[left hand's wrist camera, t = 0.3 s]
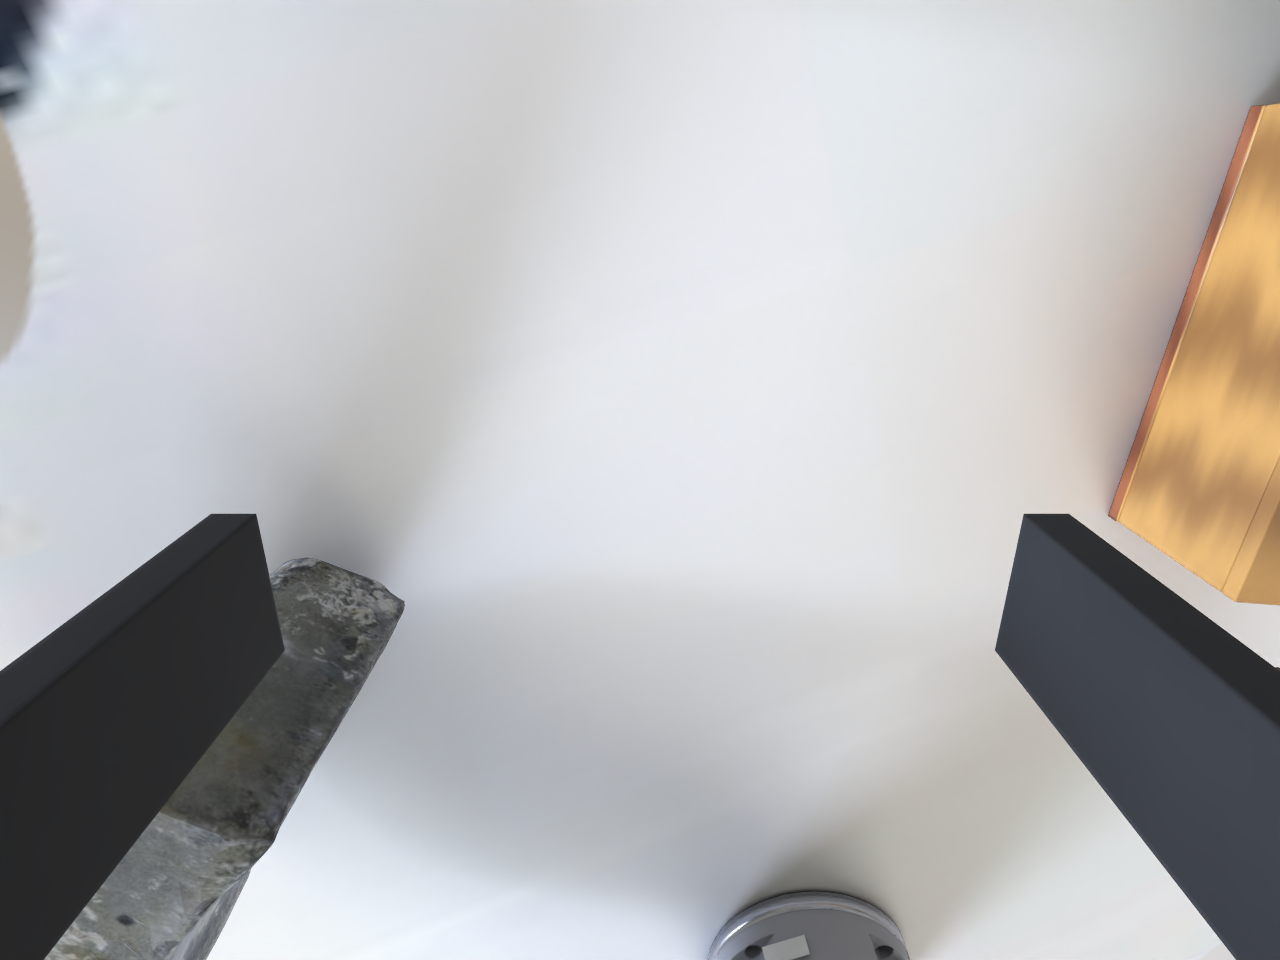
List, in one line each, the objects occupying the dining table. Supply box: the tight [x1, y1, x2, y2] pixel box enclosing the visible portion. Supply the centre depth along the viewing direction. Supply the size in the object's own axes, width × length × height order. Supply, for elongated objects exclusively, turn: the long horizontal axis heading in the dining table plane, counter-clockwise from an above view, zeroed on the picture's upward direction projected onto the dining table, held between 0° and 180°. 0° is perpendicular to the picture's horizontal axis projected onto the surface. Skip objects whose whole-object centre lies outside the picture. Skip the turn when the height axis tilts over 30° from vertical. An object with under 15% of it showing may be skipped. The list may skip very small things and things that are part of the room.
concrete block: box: [44, 558, 405, 960], centre depth 38 cm, size 27×9×20 cm, turn 147°
